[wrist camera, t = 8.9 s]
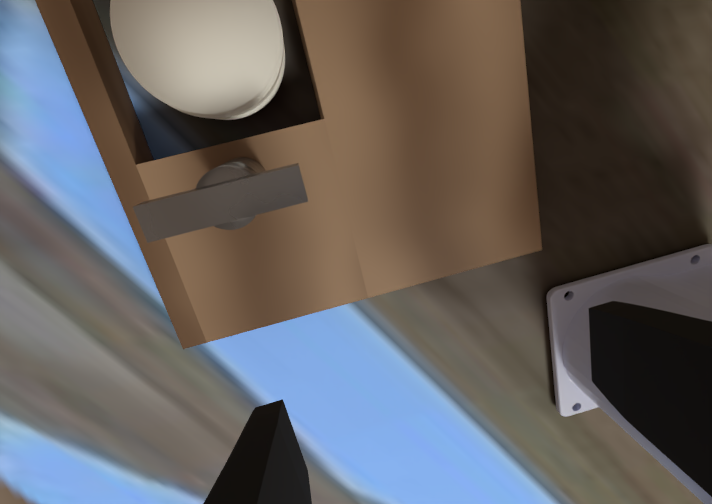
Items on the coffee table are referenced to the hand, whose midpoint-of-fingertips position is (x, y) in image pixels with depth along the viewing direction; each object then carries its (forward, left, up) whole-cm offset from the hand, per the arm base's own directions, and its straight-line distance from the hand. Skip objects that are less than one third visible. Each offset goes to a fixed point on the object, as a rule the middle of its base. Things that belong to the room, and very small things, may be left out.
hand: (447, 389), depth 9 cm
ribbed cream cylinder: (+4, -9, -11) cm, 14 cm away
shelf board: (+1, -6, -10) cm, 12 cm away
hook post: (+4, -5, -8) cm, 10 cm away
